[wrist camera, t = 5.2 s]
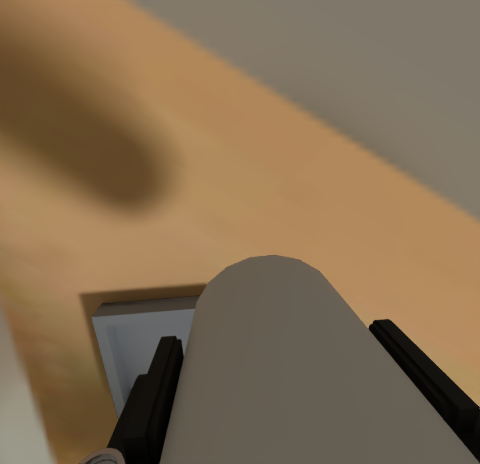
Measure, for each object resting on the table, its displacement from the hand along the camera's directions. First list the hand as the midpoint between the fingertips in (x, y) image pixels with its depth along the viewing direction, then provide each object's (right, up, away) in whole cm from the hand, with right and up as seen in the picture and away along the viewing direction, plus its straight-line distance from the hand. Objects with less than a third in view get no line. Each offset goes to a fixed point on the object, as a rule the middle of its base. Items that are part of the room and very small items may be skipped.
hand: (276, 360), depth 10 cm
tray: (-9, -7, +17) cm, 20 cm away
